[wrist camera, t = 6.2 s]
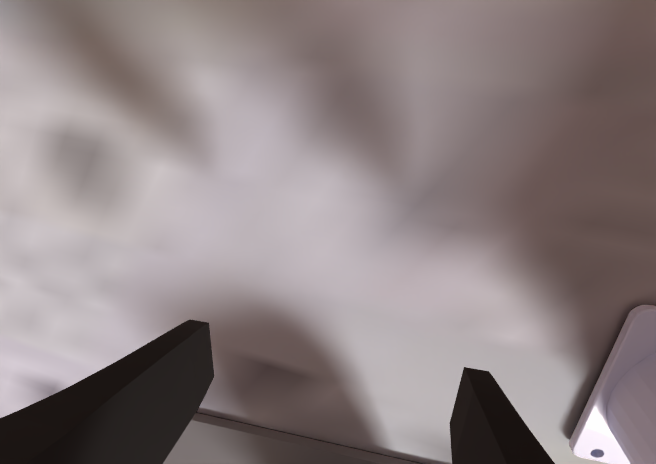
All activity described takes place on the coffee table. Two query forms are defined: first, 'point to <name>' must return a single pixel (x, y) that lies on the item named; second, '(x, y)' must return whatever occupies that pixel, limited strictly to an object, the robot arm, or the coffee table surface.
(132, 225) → the coffee table surface
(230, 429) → the grey flat slab
